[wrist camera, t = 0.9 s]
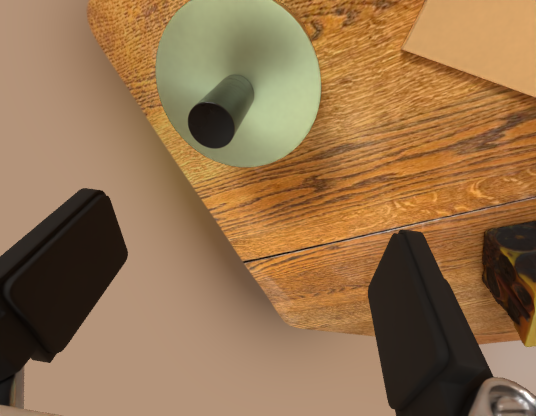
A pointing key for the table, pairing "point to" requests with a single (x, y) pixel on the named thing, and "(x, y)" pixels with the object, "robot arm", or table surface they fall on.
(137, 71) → the table surface
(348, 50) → the table surface
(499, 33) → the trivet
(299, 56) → the lid
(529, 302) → the candle
